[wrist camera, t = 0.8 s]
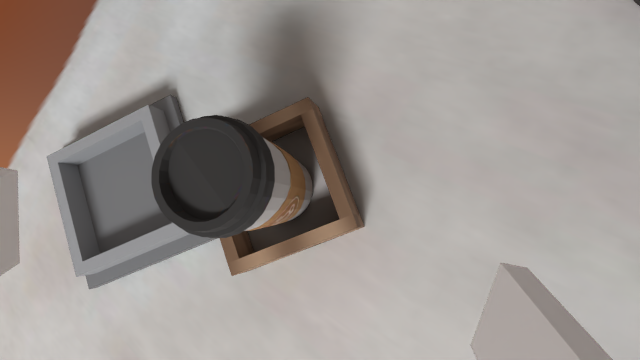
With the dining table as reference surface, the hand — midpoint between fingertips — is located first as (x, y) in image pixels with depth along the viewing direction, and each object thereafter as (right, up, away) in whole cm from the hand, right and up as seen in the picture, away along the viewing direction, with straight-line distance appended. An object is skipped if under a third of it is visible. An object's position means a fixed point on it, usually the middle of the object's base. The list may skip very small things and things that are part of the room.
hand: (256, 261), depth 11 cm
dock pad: (-18, +1, +34) cm, 38 cm away
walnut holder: (-2, +1, +29) cm, 29 cm away
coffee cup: (-2, +1, +29) cm, 29 cm away
